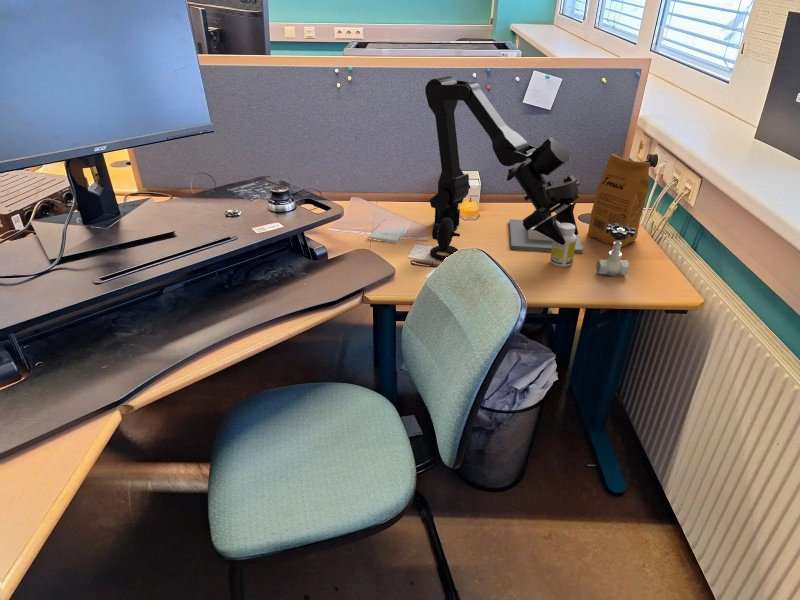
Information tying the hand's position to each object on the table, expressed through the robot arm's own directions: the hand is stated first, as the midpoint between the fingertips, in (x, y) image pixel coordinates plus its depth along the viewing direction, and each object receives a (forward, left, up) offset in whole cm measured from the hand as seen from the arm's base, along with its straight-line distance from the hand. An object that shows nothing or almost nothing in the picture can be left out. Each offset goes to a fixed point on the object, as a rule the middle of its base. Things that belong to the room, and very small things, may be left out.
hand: (570, 239), depth 132 cm
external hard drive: (-46, +13, -7) cm, 48 cm away
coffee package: (+14, +18, -7) cm, 24 cm away
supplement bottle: (-1, +1, -7) cm, 7 cm away
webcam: (-30, +1, -7) cm, 31 cm away
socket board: (-4, +16, -7) cm, 18 cm away
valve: (+10, -4, -7) cm, 13 cm away
